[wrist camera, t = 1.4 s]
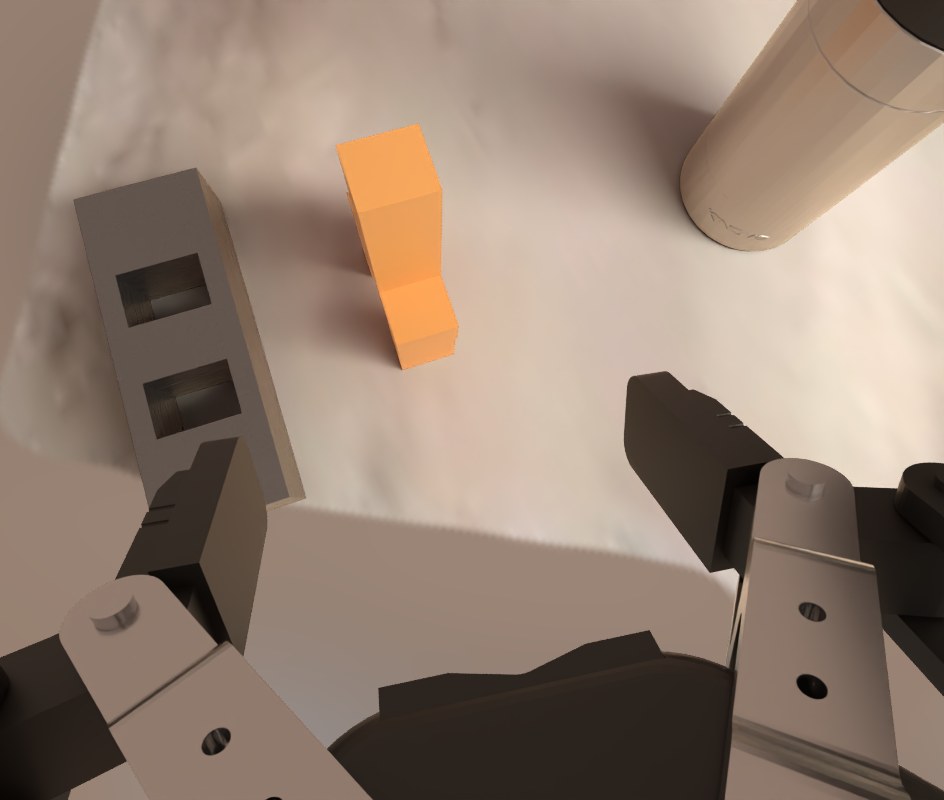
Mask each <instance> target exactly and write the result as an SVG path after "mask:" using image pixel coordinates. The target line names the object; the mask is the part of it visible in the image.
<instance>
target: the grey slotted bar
mask: <svg viewBox="0 0 944 800" xmlns="http://www.w3.org/2000/svg"><path fill="white" fill-rule="evenodd" d="M74 204H75V208H76V212H77V216H78V221H79V225H80V229H81V233H82V237H83V241H84V245H85V249H86V253H87V257H88V261H89V265H90V270H91V274H92V278H93V282H94V286H95V290H96V294H97V298H98V302H99V306H100V310H101V314H102V319H103V323H104V327H105V331H106V335H107V339H108V343H109V347H110V351H111V355H112V359H113V364H114V368H115V372H116V376H117V380H118V384H119V388H120V392H121V396H122V400H123V404H124V408H125V413H126V417H127V421H128V425H129V429H130V433H131V437H132V441H133V445H134V449H135V453H136V457H137V462H138V466H139V470H140V474H141V478H142V482H143V486H144V490H145V494H146V498H147V502H148V506H149V507H150V505H151V503H152V500H153V498H154V496H155V494H156V492H157V490H158V489H159V488H160V487H161V486H162V485H163V484H164V483H165V482H166V481H167V480H168V479H169V478H170V477H171V476H172V475H174V474H175V473H176V472H177V471H183V470H189V469H190V468H191V465H192V463H193V461H194V458H195V456H196V453H197V451H198V449H199V446H200V444H201V443H202V442H207V441H213V440H220V439H226V438H233V437H239V436H242V437H243V438H244V439H245V441H246V443H247V445H248V448H249V451H250V454H251V458H252V461H253V464H254V467H255V470H256V474H257V477H258V480H259V483H260V486H261V490H262V493H263V496H264V499H265V504H266V510H267V511H269V510H272V509H275V508H278V507H281V506H284V505H287V504H290V503H293V502H296V501H299V500H302V499H305V498H306V496H305V492H304V489H303V485H302V482H301V479H300V475H299V472H298V468H297V465H296V461H295V458H294V454H293V451H292V447H291V444H290V440H289V437H288V433H287V430H286V426H285V423H284V420H283V416H282V413H281V409H280V406H279V402H278V399H277V395H276V392H275V388H274V385H273V381H272V378H271V374H270V371H269V367H268V364H267V360H266V357H265V354H264V350H263V347H262V343H261V340H260V336H259V333H258V329H257V326H256V322H255V319H254V315H253V312H252V308H251V305H250V301H249V298H248V295H247V291H246V288H245V284H244V281H243V277H242V274H241V270H240V267H239V263H238V260H237V256H236V253H235V249H234V246H233V242H232V239H231V235H230V232H229V229H228V225H227V222H226V218H225V215H224V211H223V208H222V204H221V202H220V201H219V199H218V198H217V196H216V195H215V193H214V192H213V191H212V189H211V188H210V186H209V185H208V184H207V182H206V181H205V179H204V178H203V177H202V175H201V174H200V172H199V171H198V170H197V168H193V169H189V170H185V171H181V172H177V173H174V174H170V175H166V176H162V177H158V178H154V179H151V180H147V181H143V182H139V183H135V184H132V185H128V186H124V187H120V188H116V189H112V190H109V191H105V192H101V193H97V194H93V195H89V196H86V197H82V198H78V199H74ZM205 284H206V285H207V289H208V292H209V296H210V299H211V303H212V304H210V305H206V306H203V307H199V308H196V309H192V310H189V311H185V312H182V313H178V314H175V315H171V316H168V317H165V318H161V319H158V320H155V318H154V314H153V310H152V306H151V303H150V300H152V299H156V298H160V297H163V296H167V295H170V294H174V293H177V292H181V291H184V290H188V289H191V288H195V287H198V286H202V285H205ZM230 380H233V383H234V386H235V390H236V393H237V397H238V401H239V404H240V408H241V411H242V413H241V414H237V415H234V416H231V417H228V418H224V419H221V420H218V421H215V422H212V423H208V424H205V425H202V426H199V427H195V428H192V429H189V430H186V431H184V430H183V426H182V422H181V418H180V414H179V410H178V407H177V403H176V399H175V397H178V396H181V395H184V394H188V393H191V392H194V391H197V390H201V389H204V388H207V387H211V386H214V385H217V384H221V383H224V382H227V381H230Z"/></svg>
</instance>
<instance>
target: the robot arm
mask: <svg viewBox="0 0 944 800" xmlns="http://www.w3.org/2000/svg"><path fill="white" fill-rule="evenodd" d="M943 123H944V0H797V1H796V3H795V4H794V6H793V7H792V8H791V10H790V11H789V13H788V14H787V16H786V17H785V18H784V20H783V21H782V23H781V24H780V25H779V27H778V28H777V30H776V31H775V32H774V34H773V35H772V37H771V38H770V39H769V41H768V42H767V44H766V45H765V46H764V48H763V49H762V51H761V52H760V53H759V55H758V56H757V58H756V59H755V61H754V62H753V63H752V65H751V66H750V68H749V69H748V70H747V72H746V73H745V75H744V76H743V77H742V79H741V80H740V82H739V83H738V84H737V86H736V87H735V89H734V90H733V91H732V93H731V94H730V96H729V97H728V98H727V100H726V101H725V103H724V104H723V106H722V107H721V108H720V110H719V111H718V112H717V114H716V115H715V116H714V118H713V119H712V120H711V122H710V123H709V125H708V126H707V128H706V129H705V130H704V132H703V133H702V135H701V136H700V137H699V139H698V140H697V142H696V143H695V144H694V146H693V147H692V149H691V150H690V151H689V153H688V155H687V157H686V159H685V161H684V163H683V165H682V170H681V175H680V191H681V195H682V199H683V203H684V205H685V207H686V210H687V212H688V214H689V216H690V217H691V218H692V220H693V221H694V222H695V224H696V225H697V226H698V227H699V228H700V229H701V230H702V231H703V232H704V233H705V234H706V235H708V236H709V237H710V238H712V239H714V240H715V241H717V242H719V243H720V244H723V245H725V246H728V247H731V248H733V249H738V250H744V251H763V250H767V249H771V248H774V247H777V246H779V245H781V244H783V243H785V242H787V241H788V240H789V239H791V238H792V237H793V236H795V235H796V234H797V233H798V232H800V231H801V230H802V229H804V228H805V227H806V226H808V225H809V224H810V223H812V222H813V221H814V220H816V219H817V218H818V217H820V216H821V215H822V214H824V213H825V212H827V211H828V210H829V209H831V208H832V207H833V206H835V205H836V204H837V203H839V202H840V201H841V200H842V199H844V198H845V197H846V196H848V195H849V194H850V193H852V192H853V191H854V190H856V189H857V188H858V187H860V186H861V185H862V184H864V183H865V182H866V181H868V180H869V179H870V178H871V177H873V176H874V175H875V174H877V173H878V172H879V171H881V170H882V169H883V168H885V167H886V166H887V165H889V164H890V163H891V162H893V161H894V160H895V159H897V158H898V157H899V156H901V155H902V154H903V153H904V152H906V151H907V150H908V149H910V148H911V147H912V146H914V145H915V144H916V143H918V142H919V141H920V140H922V139H923V138H924V137H926V136H927V135H928V134H930V133H931V132H932V131H933V130H935V129H936V128H937V127H939V126H940V125H941V124H943ZM624 447H625V452H626V456H627V459H628V461H629V463H630V465H631V467H632V468H633V470H634V471H635V472H636V474H637V475H638V476H639V478H640V479H641V480H642V482H643V483H644V484H645V486H646V487H647V488H648V490H649V491H650V493H651V494H652V495H653V497H654V498H655V499H656V501H657V502H658V503H659V505H660V506H661V507H662V509H663V510H664V511H665V513H666V514H667V516H668V517H669V518H670V520H671V521H672V522H673V524H674V525H675V526H676V528H677V529H678V530H679V532H680V533H681V534H682V536H683V537H684V539H685V540H686V541H687V543H688V544H689V545H690V547H691V548H692V549H693V551H694V552H695V553H696V555H697V556H698V557H699V559H700V560H701V562H702V563H703V564H704V566H705V567H706V568H707V570H708V571H709V572H710V573H712V572H716V571H721V570H726V569H731V568H734V569H735V570H736V571H737V572H738V574H739V578H738V583H737V588H736V595H735V602H734V609H733V615H732V622H731V629H730V636H729V643H728V650H727V657H726V664H725V666H723V665H720V664H718V663H715V662H712V661H709V660H706V659H703V658H700V657H695V656H691V655H687V654H681V653H674V652H663V651H660V648H659V647H658V645H657V643H656V641H655V639H654V638H653V636H652V634H651V632H650V631H649V630H648V631H644V632H639V633H634V634H629V635H625V636H620V637H616V638H611V639H606V640H601V641H597V642H592V643H587V644H584V645H583V646H580V647H578V648H576V649H574V650H572V651H570V652H568V653H566V654H564V655H562V656H560V657H558V658H556V659H554V660H552V661H550V662H548V663H546V664H544V665H542V666H540V667H538V668H536V669H534V670H532V671H530V672H527V673H524V674H519V675H504V674H503V675H501V674H459V673H447V674H442V675H437V676H433V677H428V678H423V679H419V680H414V681H410V682H405V683H400V684H395V685H390V686H386V687H381V688H378V689H379V710H380V712H378V713H376V714H374V715H372V716H370V717H368V718H366V719H365V720H363V721H362V722H360V723H358V724H357V725H355V726H354V727H352V728H351V729H349V730H348V731H347V732H346V733H344V734H343V735H342V736H341V737H339V738H338V739H337V740H336V741H335V742H334V743H333V744H332V745H331V746H330V747H328V748H327V749H326V748H325V747H324V746H323V745H322V743H321V742H320V741H319V740H318V739H317V738H316V737H315V736H314V735H313V733H312V732H311V731H310V730H309V729H308V728H307V727H306V726H305V725H304V724H303V722H302V721H301V720H300V719H299V718H298V717H297V716H296V715H295V714H294V712H293V711H292V710H291V709H290V708H289V707H288V706H287V705H286V704H285V703H284V701H282V699H281V698H280V697H279V696H278V695H277V694H276V693H275V691H274V690H273V689H272V688H271V687H270V686H269V685H268V684H267V683H266V682H265V680H263V678H262V677H261V676H260V675H259V674H258V673H257V672H256V670H255V669H254V668H253V667H252V666H251V665H250V664H249V663H248V662H247V661H246V660H245V658H244V657H243V655H244V650H245V645H246V639H247V633H248V628H249V623H250V617H251V612H252V607H253V601H254V595H255V590H256V585H257V579H258V574H259V569H260V564H261V558H262V552H263V547H264V541H265V537H266V531H267V510H266V504H265V499H264V496H263V493H262V490H261V486H260V483H259V480H258V477H257V474H256V470H255V467H254V464H253V461H252V458H251V454H250V451H249V448H248V445H247V443H246V441H245V439H244V438H243V437H242V436H239V437H233V438H226V439H220V440H213V441H207V442H202V443H201V444H200V446H199V449H198V451H197V453H196V456H195V458H194V461H193V463H192V465H191V468H190V469H189V470H183V471H177V472H176V473H175V474H174V475H172V476H171V477H170V478H169V479H168V480H167V481H166V482H165V483H164V484H163V485H162V486H161V487H160V488H159V489H158V490H157V492H156V494H155V496H154V498H153V500H152V503H151V505H150V507H149V512H147V513H146V515H145V518H144V520H143V522H142V524H141V525H142V528H139V530H138V532H137V534H136V536H135V539H134V541H133V543H132V545H131V547H130V549H129V551H128V553H127V555H126V558H125V560H124V562H123V564H122V566H121V568H120V570H119V572H118V575H117V577H116V579H115V580H114V581H112V582H109V583H106V584H105V585H103V586H101V587H99V588H97V589H95V590H94V591H92V592H91V593H89V594H88V595H86V596H85V597H84V598H82V599H81V600H80V601H79V602H78V603H77V604H76V605H75V606H74V607H73V608H72V609H71V610H70V611H69V612H68V614H67V615H66V617H65V618H64V620H63V622H62V624H61V627H60V631H59V634H56V635H54V636H52V637H50V638H47V639H45V640H42V641H40V642H37V643H35V644H33V645H30V646H28V647H25V648H23V649H20V650H18V651H15V652H13V653H10V654H8V655H6V656H3V657H1V658H0V800H68V797H69V794H70V791H71V789H73V788H75V787H77V786H79V785H81V784H83V783H85V782H87V781H89V780H91V779H93V778H95V777H97V776H98V775H101V774H103V773H104V772H106V771H109V770H111V769H113V768H114V767H116V766H118V765H120V764H122V763H124V762H126V761H127V762H128V764H129V765H130V767H131V769H132V771H133V772H134V774H135V776H136V778H137V779H138V781H139V783H140V785H141V786H142V788H143V790H144V792H145V793H146V795H147V797H148V798H149V800H944V791H943V790H941V789H940V788H938V787H936V786H934V785H933V784H931V783H929V782H928V781H926V780H924V779H922V778H921V777H919V776H917V775H915V774H914V773H912V772H910V771H908V770H907V769H905V768H903V767H902V766H900V765H898V758H897V749H896V741H895V732H894V723H893V715H892V706H891V698H890V690H889V680H888V672H887V664H886V655H885V646H884V637H883V629H884V631H885V632H886V633H887V634H888V635H889V636H890V637H891V638H892V640H893V641H894V642H895V643H896V644H897V645H898V646H899V647H900V648H901V650H902V651H903V652H904V653H905V654H906V655H907V656H908V657H909V658H910V660H911V661H912V662H913V663H914V664H915V665H916V666H917V667H918V668H919V670H920V671H921V672H922V673H923V674H924V675H925V676H926V677H927V678H928V680H930V682H931V683H932V684H933V685H934V686H935V687H936V688H937V690H938V691H939V692H940V693H941V694H942V695H943V696H944V464H943V463H919V464H914V465H912V466H909V467H908V468H906V469H905V471H904V472H903V475H902V478H901V480H900V483H899V486H898V489H895V488H870V487H853V486H852V484H851V483H850V481H849V480H848V479H847V478H846V477H845V476H844V475H842V474H841V473H839V472H838V471H836V470H835V469H833V468H831V467H829V466H826V465H824V464H821V463H818V462H815V461H811V460H806V459H799V458H783V457H782V456H781V455H780V454H779V453H778V452H776V451H775V450H774V449H773V448H772V447H771V446H769V445H768V444H767V443H766V442H765V441H764V440H762V439H761V438H760V437H759V436H758V435H757V434H755V433H754V432H753V431H752V430H751V429H750V428H749V427H747V426H744V425H743V422H742V421H740V420H739V419H738V418H737V417H736V416H735V415H731V412H730V411H729V410H728V409H726V408H725V407H724V406H723V405H722V404H721V403H719V402H718V401H717V400H716V399H714V398H712V397H709V396H707V395H705V394H702V393H700V392H698V391H696V390H688V389H687V388H686V387H684V386H683V385H682V384H681V383H680V382H679V381H678V380H677V379H676V378H674V377H673V376H672V375H671V374H670V373H669V372H666V371H663V372H657V373H651V374H644V375H638V376H632V377H631V378H630V379H629V381H628V385H627V397H626V412H625V428H624ZM882 628H883V629H882Z"/></svg>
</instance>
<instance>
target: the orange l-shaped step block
mask: <svg viewBox="0 0 944 800" xmlns="http://www.w3.org/2000/svg"><path fill="white" fill-rule="evenodd" d="M336 148H337V152H338V156H339V159H340V163H341V166H342V170H343V173H344V177H345V181H346V184H347V188H348V191H349V192H347V196H348V199H349V203H350V206H351V209H352V213H353V216H354V219H355V223H356V226H357V230H358V233H359V237H360V240H361V244H362V247H363V251H364V254H365V257H366V260H367V263H368V266H369V269H370V272H371V275H372V276H373V277H374V280H375V283H376V286H377V289H378V293H379V296H380V299H381V302H382V305H383V308H384V311H385V314H386V317H387V321H388V324H389V328H390V332H391V336H392V339H393V343H394V346H395V349H396V352H397V355H398V358H399V361H400V364H401V367H402V370H404V369H407V368H410V367H414V366H417V365H420V364H423V363H426V362H430V361H433V360H436V359H439V358H442V357H446V356H449V355H452V354H454V347H455V338H457V337H458V328H459V326H458V323H457V320H456V317H455V314H454V312H453V309H452V306H451V303H450V300H449V297H448V294H447V291H446V288H445V285H444V283H443V280H442V277H441V238H442V188H441V185H440V182H439V179H438V176H437V174H436V171H435V168H434V165H433V162H432V159H431V157H430V154H429V151H428V148H427V145H426V143H425V140H424V137H423V134H422V131H421V128H420V126H419V124H415V125H411V126H408V127H404V128H400V129H396V130H392V131H389V132H385V133H381V134H377V135H373V136H370V137H366V138H362V139H358V140H354V141H351V142H347V143H343V144H339V145H336Z"/></svg>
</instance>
